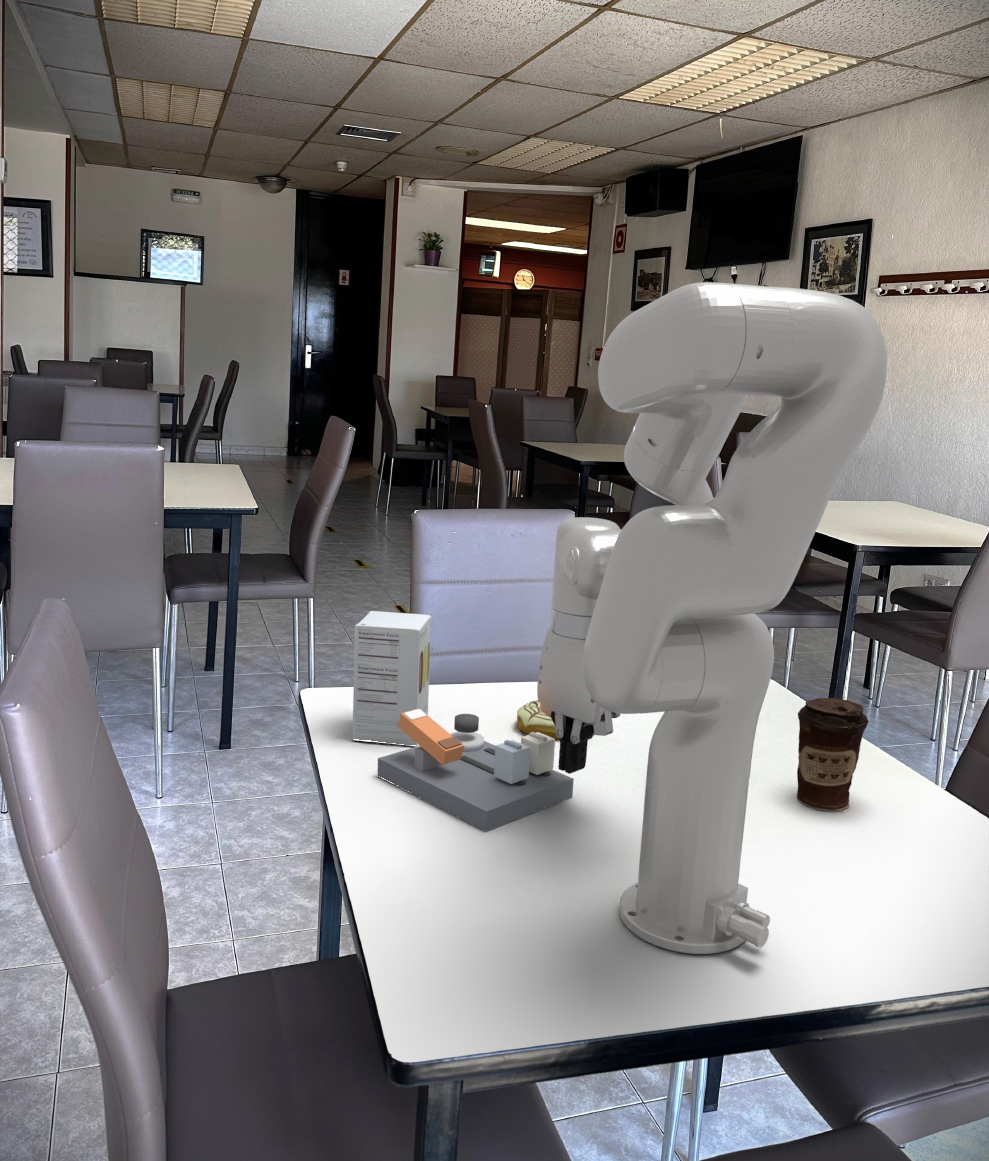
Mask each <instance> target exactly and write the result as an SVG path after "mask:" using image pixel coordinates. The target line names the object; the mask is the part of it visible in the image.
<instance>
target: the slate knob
mask: <svg viewBox="0 0 989 1161" xmlns="http://www.w3.org/2000/svg"><path fill="white" fill-rule="evenodd" d="M529 760H530V747H529V746H526V745H524V744H521V742H518V741H516V740H513V739H512V740H509V739H506V740H504V742H502V743H500V744H496V745H495V764H494V777H497V778H499V779H501V780H503V781H505V782H508V783H510V784H513V783H516V782H519V781H521V780H524V779H527V778H529Z"/></svg>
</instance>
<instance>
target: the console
mask: <svg viewBox="0 0 989 1161" xmlns="http://www.w3.org/2000/svg"><path fill="white" fill-rule="evenodd" d="M450 734H451V735H452V736H453V737H455V738H456V739H457V740H458V741H460V742H461V743H462V744H463V745H464V749H463V753H462V756H461V759H460V760H457V761H453V762H450V763H447V764H444V765H442V764H441V763H440V762H439V761H437V760H436V759H435V758H434V757H433V756H432V755H430V754H429V753H428V752H427V751H426V750H425V749H423V748H422V747H421V746H420V745H416V747H412V748H407V749H403V750H401V751H398V752H394V753H391V754H388V755H383V756H380V757H377V775H378V776H380V777H382V778H384V779H386V780H388V781H390V782H392V783H394V784H395V785H398V786H399V787H401V788H403V789H405V790H407V791H409V792H411V793H413V794H414V795H413V794H412V795H413V796H415V795H416V796H415V797H417V796H418V797H417V798H419V797H420V798H421V799H420V798H419V799H420V800H422V799H423V801H424V800H426V801H428V802H430V803H431V804H430V803H429V804H430V805H432V804H433V805H432V806H434V805H436V806H437V807H436V806H435V807H436V808H438V807H440V808H441V809H440V808H439V809H440V810H442V809H443V811H444V810H445V811H444V812H446V811H447V812H446V813H448V812H449V813H448V814H450V813H451V815H452V814H453V815H452V816H454V817H456V816H457V817H456V818H458V817H459V818H458V819H460V820H462V821H463V822H465V821H466V823H467V822H468V823H467V824H469V825H471V824H472V825H471V826H473V827H476V828H477V829H480V830H482V831H483V832H489V831H491V830H493V829H496V828H499V827H500V826H503V825H506V824H510V823H511V822H513V821H516V820H519V819H522V818H524V817H527V816H529V815H531V814H534V813H537V812H539V811H541V810H544V809H547V808H548V807H552V806H554V805H557V804H559V803H561V802H564V801H567V800H570V799H572V798H573V794H574V793H573V792H574V779H575V778H574V777H571V776H569V775H567V774H564V773H561V772H559V771H556V770H554V769H552V770H549V771H546V772H544V773H541V774H538V775H536V774H534V773H531V772H529V778H527V779H524V780H521V781H519V782H516V783H513V784H510V783H508V782H505V781H503V780H501V779H499V778H497V777H494V764H495V745H494V744H493V743H490V742H487V741H486V740H485V737H484V736H483V735H482V734H481V733H477V732H473V733H462V732H458V731H456V732H455V731H454V732H452V733H450ZM395 785H394V786H395ZM399 787H398V788H399ZM401 788H400V789H401ZM403 789H402V790H403ZM405 790H404V791H405ZM407 791H406V792H407ZM409 792H408V793H409ZM411 793H410V794H411ZM426 801H425V802H426ZM428 802H427V803H428Z"/></svg>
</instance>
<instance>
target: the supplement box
mask: <svg viewBox="0 0 989 1161" xmlns="http://www.w3.org/2000/svg"><path fill="white" fill-rule="evenodd" d="M431 630H432V615H431V614H421V613H405V612H391V611H377V610H371V611H369V612H368V613H367V614H366V616H365V617H363V618H362V619H361V620H360V621H359V622H358V623H356V624H355V625H354V635H353V638H354V642H353V643H354V644H353V693H352V694H353V698H352V699H353V700H352V704H353V705H352V706H353V707H352V740H353V739H359V740H371V741H378V742H386V743H396V744H404V745H416V744H417V745H418V743H416V742H415V741H414V740H413V739H412V738H411V737H409V736H408V735H407V734H406V733H405V732H404V731H402V730H401V729H400V728H399V727H398V724H399V720H400V715H401V713H404V712H408V711H412V710H416V709H421V710H422V711H423V712H424V713H425V714H427V715H428V716H429V714H428V713H429V691H430V690H429V688H430V687H429V685H430V662H431V659H430V657H431V639H432V638H431V636H432V634H431V632H432V631H431ZM417 745H416V746H417Z"/></svg>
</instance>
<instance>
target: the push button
mask: <svg viewBox="0 0 989 1161" xmlns="http://www.w3.org/2000/svg"><path fill="white" fill-rule="evenodd" d="M479 721H480V717H479V716H477V715H476V714H472V713H459V714H457V715H455V716H454V723H453V724H454V728H453V729H454V730H455V731H456V732H462V733H473V732H475V733H477V732H478V731H479V726H480V725H479V723H480V722H479Z"/></svg>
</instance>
